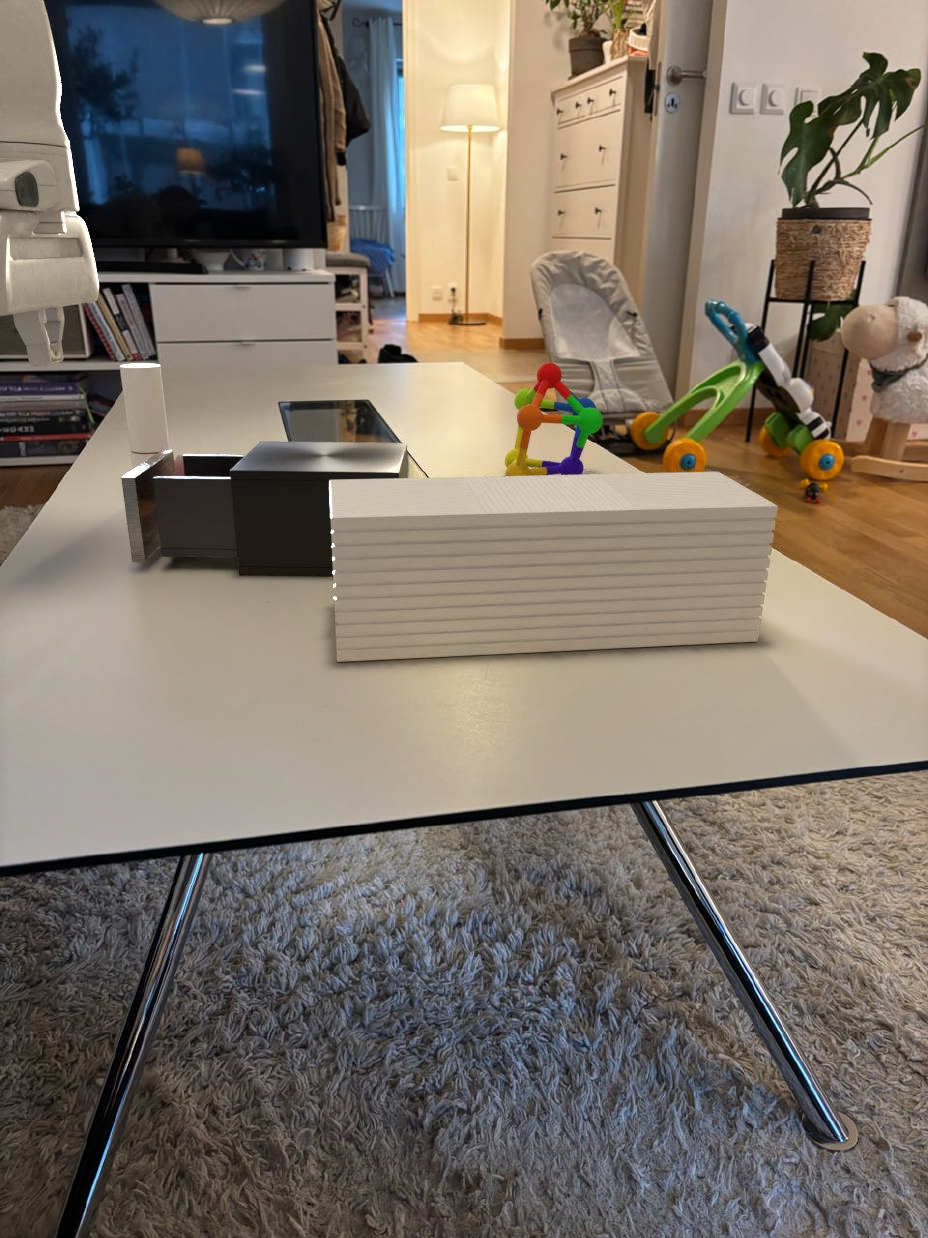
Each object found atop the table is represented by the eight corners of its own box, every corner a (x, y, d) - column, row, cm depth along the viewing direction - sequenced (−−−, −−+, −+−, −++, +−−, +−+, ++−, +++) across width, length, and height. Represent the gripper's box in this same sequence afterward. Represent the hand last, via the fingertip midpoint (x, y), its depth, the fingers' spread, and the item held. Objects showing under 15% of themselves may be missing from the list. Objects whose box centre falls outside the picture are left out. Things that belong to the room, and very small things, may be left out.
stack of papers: (703, 592, 79) (718, 471, 75) (757, 642, 70) (778, 505, 66) (334, 607, 75) (329, 479, 71) (336, 662, 65) (330, 517, 61)
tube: (164, 503, 104) (149, 368, 98) (129, 501, 105) (112, 367, 99) (181, 494, 108) (167, 363, 102) (147, 492, 109) (131, 362, 103)
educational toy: (612, 498, 113) (625, 376, 106) (510, 501, 111) (516, 377, 104) (578, 459, 126) (588, 349, 119) (487, 461, 124) (491, 349, 117)
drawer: (118, 561, 82) (106, 477, 79) (157, 525, 93) (148, 449, 90) (281, 564, 82) (275, 479, 79) (301, 527, 93) (297, 451, 90)
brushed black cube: (238, 575, 82) (229, 470, 78) (266, 533, 94) (259, 441, 90) (400, 577, 82) (398, 472, 78) (408, 535, 94) (407, 442, 90)
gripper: (35, 194, 83) (60, 351, 88) (-92, 179, 64) (-50, 380, 69) (104, 194, 83) (125, 351, 88) (-3, 180, 64) (32, 380, 69)
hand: (47, 364), depth 79 cm, fingers closed
